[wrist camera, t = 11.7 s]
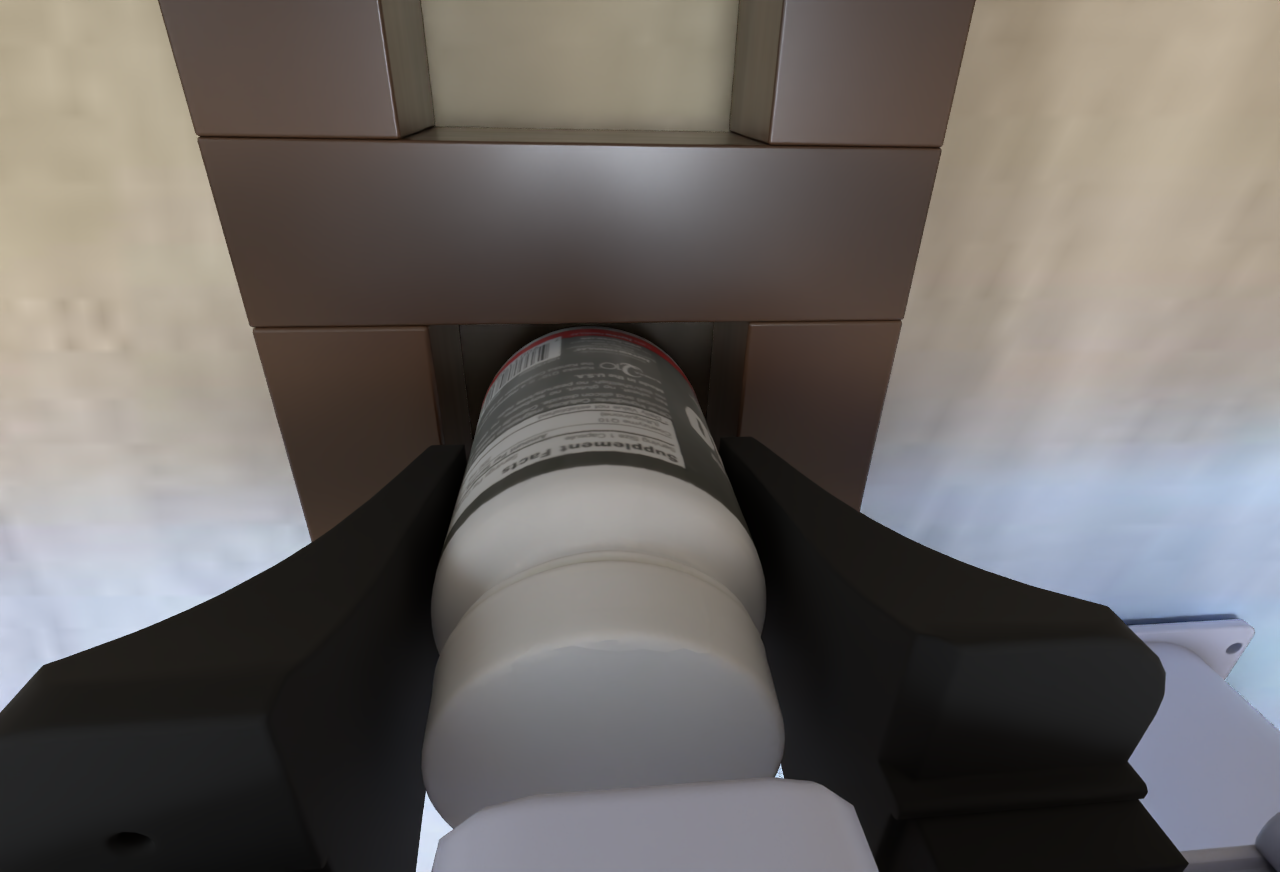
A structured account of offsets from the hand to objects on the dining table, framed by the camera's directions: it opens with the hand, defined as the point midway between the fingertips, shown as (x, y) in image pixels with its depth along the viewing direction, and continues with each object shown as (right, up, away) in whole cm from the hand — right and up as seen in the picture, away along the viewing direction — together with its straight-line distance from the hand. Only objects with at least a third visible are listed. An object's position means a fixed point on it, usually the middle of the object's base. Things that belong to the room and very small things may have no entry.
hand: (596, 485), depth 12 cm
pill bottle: (0, +1, +2) cm, 3 cm away
